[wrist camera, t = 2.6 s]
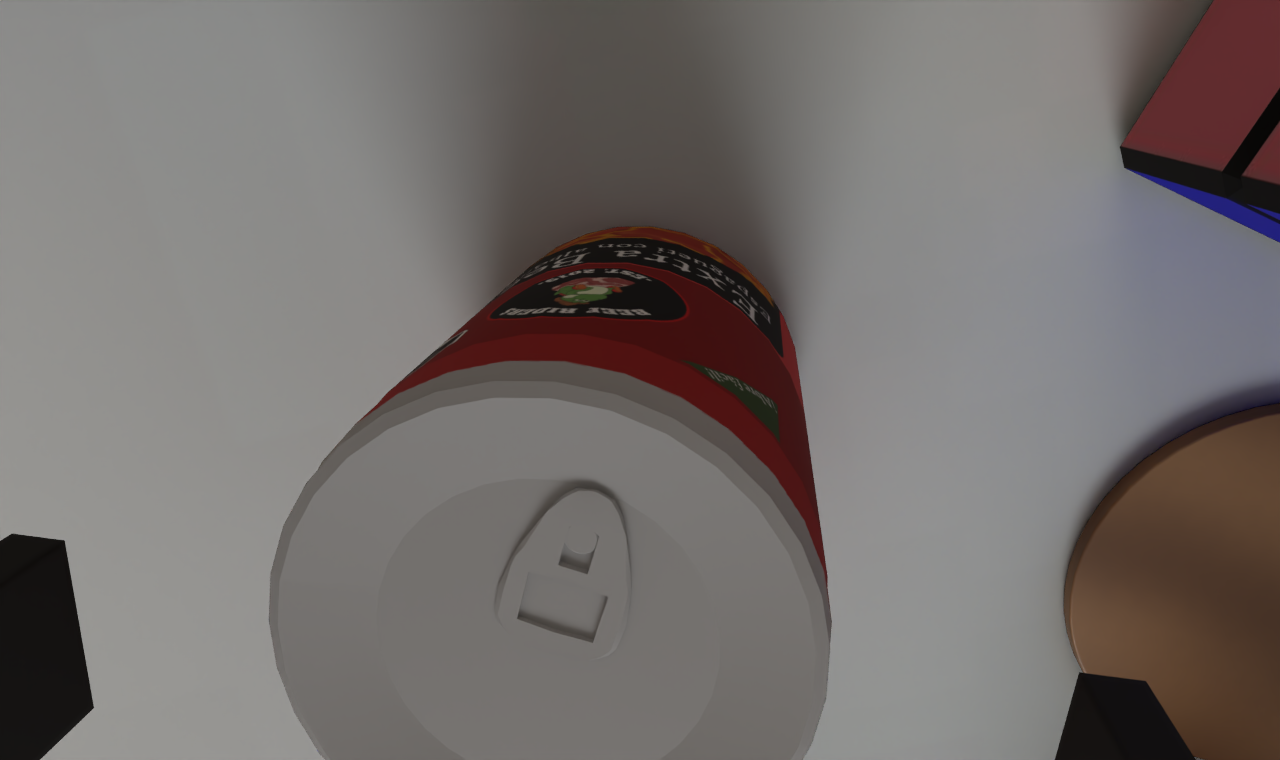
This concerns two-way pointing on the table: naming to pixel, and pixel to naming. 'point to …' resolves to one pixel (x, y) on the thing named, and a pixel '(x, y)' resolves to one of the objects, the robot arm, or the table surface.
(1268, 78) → the puzzle cube
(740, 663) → the canned food
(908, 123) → the table surface
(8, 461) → the table surface
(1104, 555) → the coaster
